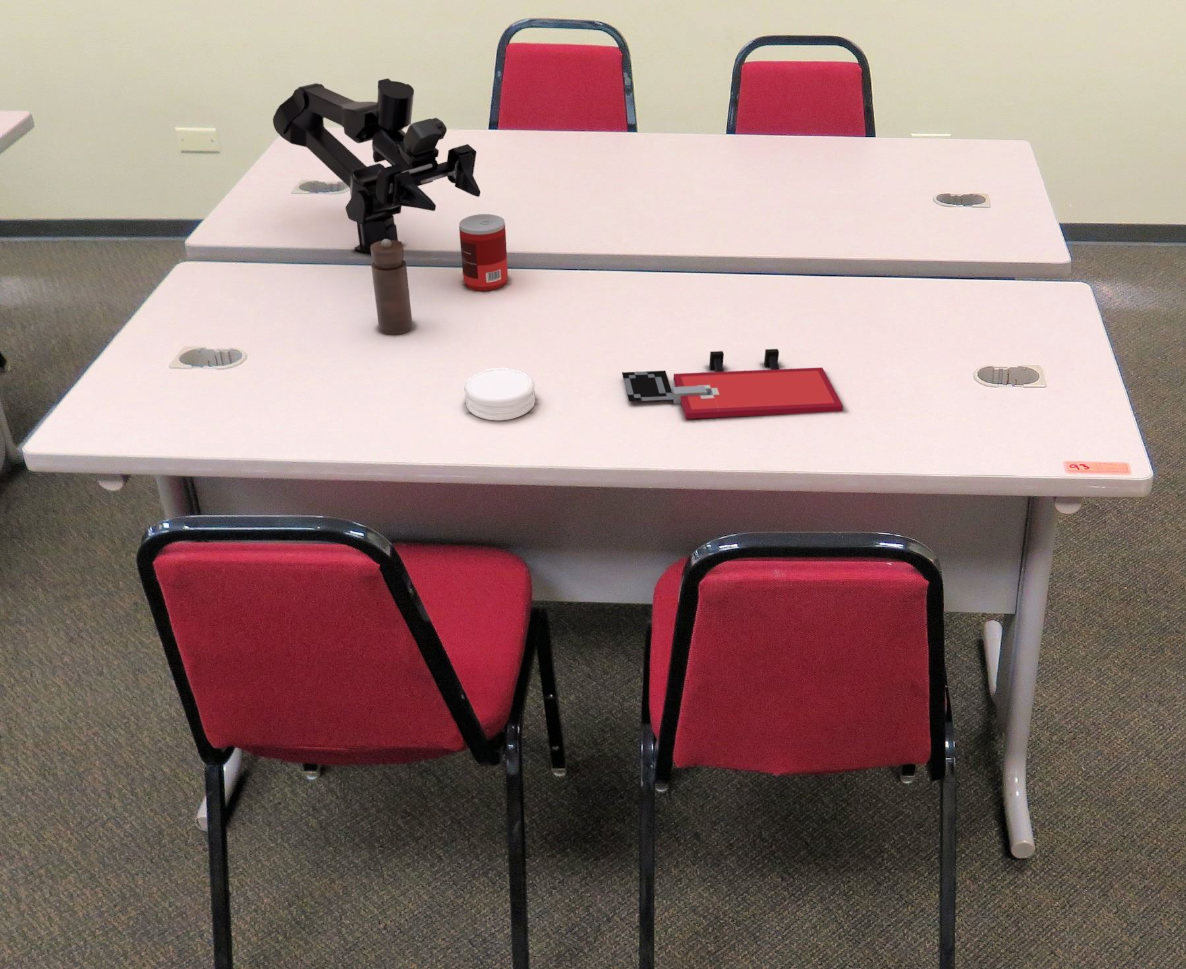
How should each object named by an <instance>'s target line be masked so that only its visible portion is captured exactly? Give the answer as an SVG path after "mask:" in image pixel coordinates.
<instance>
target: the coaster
mask: <svg viewBox="0 0 1186 969" xmlns="http://www.w3.org/2000/svg"><path fill="white" fill-rule="evenodd" d="M464 392H465V393H464V398H465V406H466V408H467V410H468V411H469V412H470V413H471V414H473V415H474V416H476V417H478V418H480V419H483V420H488V421H507V420H513V419H516V418H519V417H522V416H524V415H525V414H527V413H529V412H530V411H531V410H532V409H533V408H534V405H535V403H536V396H535V395H536V391H535V381H534V379H533V378H532V376H530V375H529V374H528V373H526V372H524V371H521V370H519V369H516V368H510V367H494V368H493V367H492V368H488V369H483V370H480V371H478V372H476V373H474V374H473V375H472V376H470V377H469V378H468V379H467V380H466V382H465V384H464Z"/></svg>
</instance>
